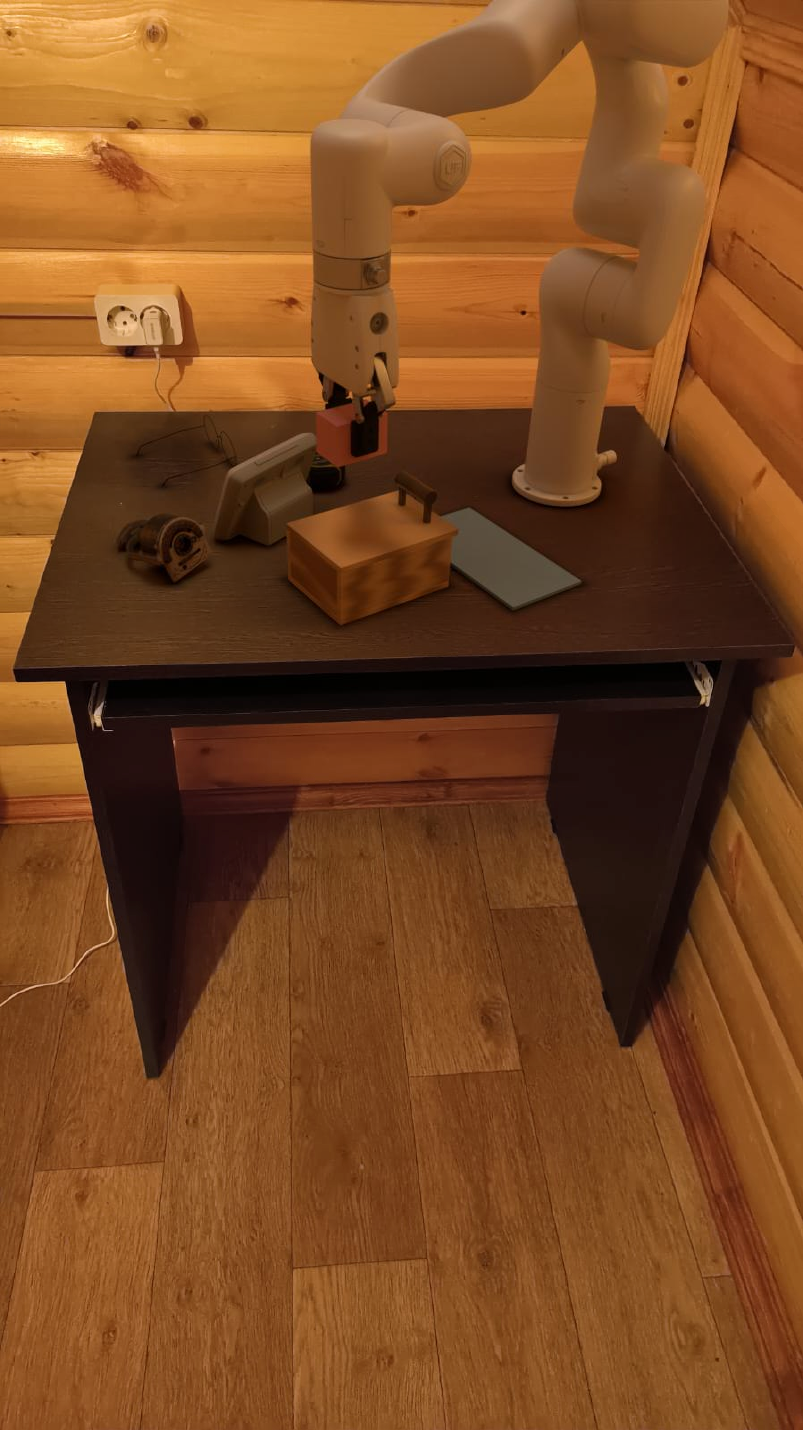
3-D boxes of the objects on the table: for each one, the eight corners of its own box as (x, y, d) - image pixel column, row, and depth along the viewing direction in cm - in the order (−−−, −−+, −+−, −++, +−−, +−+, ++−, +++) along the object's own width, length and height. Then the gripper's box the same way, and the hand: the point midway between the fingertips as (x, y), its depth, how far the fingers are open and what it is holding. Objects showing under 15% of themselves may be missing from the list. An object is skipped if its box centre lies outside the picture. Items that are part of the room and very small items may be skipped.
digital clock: (296, 493, 140) (294, 419, 133) (339, 518, 135) (339, 443, 129) (197, 530, 131) (189, 453, 125) (239, 559, 126) (233, 479, 120)
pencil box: (393, 545, 131) (395, 496, 126) (448, 586, 123) (452, 537, 119) (287, 579, 123) (286, 529, 119) (340, 625, 116) (340, 574, 112)
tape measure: (334, 468, 147) (334, 444, 144) (352, 489, 142) (352, 464, 140) (289, 475, 144) (288, 450, 142) (305, 497, 140) (305, 471, 137)
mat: (469, 510, 139) (469, 507, 138) (581, 584, 125) (581, 580, 125) (403, 531, 133) (403, 528, 133) (512, 610, 120) (513, 607, 120)
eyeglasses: (164, 490, 139) (160, 455, 136) (133, 453, 148) (129, 420, 144) (240, 474, 144) (238, 440, 141) (206, 439, 152) (204, 407, 149)
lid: (400, 495, 127) (402, 457, 123) (458, 535, 120) (461, 496, 116) (286, 529, 119) (284, 489, 116) (340, 573, 112) (340, 533, 109)
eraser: (365, 438, 114) (365, 398, 111) (387, 453, 111) (387, 412, 108) (316, 452, 111) (315, 411, 108) (337, 467, 108) (337, 426, 105)
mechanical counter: (127, 555, 116) (209, 522, 118) (96, 497, 123) (173, 467, 126) (146, 601, 121) (224, 569, 123) (115, 542, 129) (189, 513, 131)
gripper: (435, 286, 95) (426, 466, 107) (337, 240, 106) (338, 409, 117) (368, 299, 92) (366, 484, 104) (274, 251, 102) (282, 424, 114)
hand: (351, 443), depth 110 cm, fingers closed on eraser, 4 cm apart
